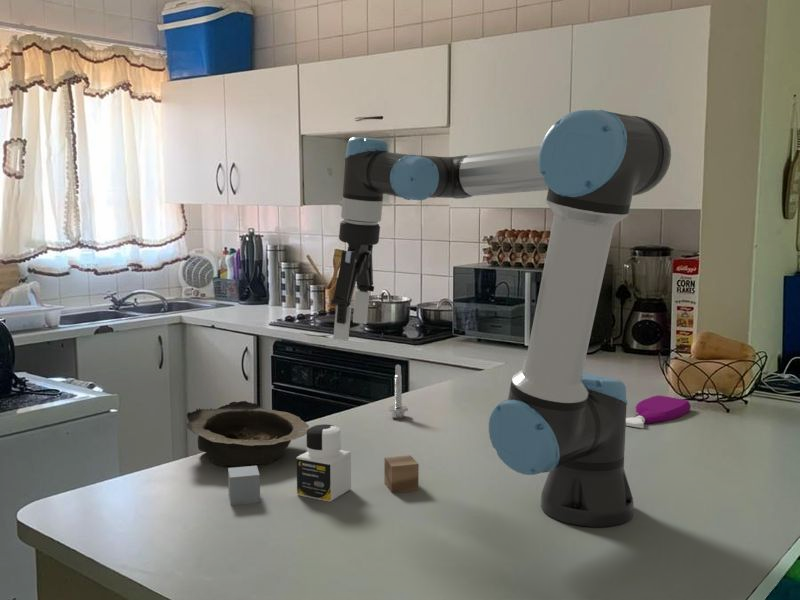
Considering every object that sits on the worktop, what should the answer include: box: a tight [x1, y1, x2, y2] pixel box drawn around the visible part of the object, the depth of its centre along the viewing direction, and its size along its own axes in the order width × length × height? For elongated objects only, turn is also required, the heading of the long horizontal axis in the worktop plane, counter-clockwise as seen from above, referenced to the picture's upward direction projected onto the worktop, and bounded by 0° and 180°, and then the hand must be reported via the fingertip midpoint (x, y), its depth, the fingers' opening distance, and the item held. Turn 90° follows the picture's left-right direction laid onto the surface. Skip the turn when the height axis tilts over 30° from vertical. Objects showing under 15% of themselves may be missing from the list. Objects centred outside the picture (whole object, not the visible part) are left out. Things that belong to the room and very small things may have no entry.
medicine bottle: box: [296, 423, 352, 502], centre depth 139 cm, size 7×7×12 cm
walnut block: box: [383, 455, 420, 494], centre depth 143 cm, size 5×5×5 cm
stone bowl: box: [186, 400, 310, 468], centre depth 160 cm, size 25×25×9 cm
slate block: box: [227, 465, 261, 506], centre depth 137 cm, size 5×5×5 cm
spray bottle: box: [626, 395, 691, 429], centre depth 191 cm, size 3×11×24 cm
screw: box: [387, 364, 409, 419], centre depth 189 cm, size 13×5×5 cm
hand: (350, 330), depth 152 cm, fingers open, 13 cm apart
